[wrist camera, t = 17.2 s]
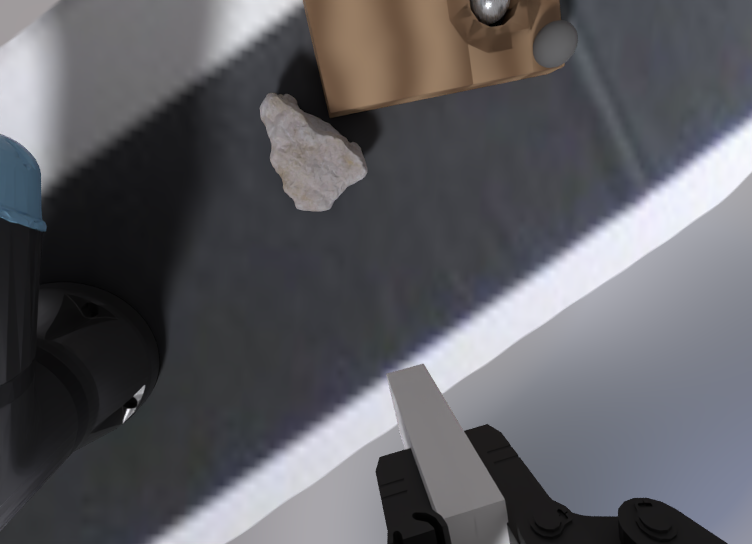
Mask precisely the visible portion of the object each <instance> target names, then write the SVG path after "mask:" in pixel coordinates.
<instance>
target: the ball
mask: <svg viewBox="0 0 752 544" xmlns="http://www.w3.org/2000/svg"><path fill="white" fill-rule="evenodd" d="M469 1H470V9H471V11H472V12H473V14H474V15H475V17H476V18H477V20H478V21H479V22H481V23H483V24H485V25H490V24H493V23H495V22H497V21H498V20H500V19H501V18H502V17H503V16H504V14H505V13H506V11H507V9H508V7H509V3H510V0H469Z"/></svg>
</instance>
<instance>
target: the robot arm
mask: <svg viewBox="0 0 752 544" xmlns="http://www.w3.org/2000/svg"><path fill="white" fill-rule="evenodd" d="M46 228H47V227H46V223H45V222H44V221H43V220H42V210H41V172H40V168H39V165H38V163H37V161H36V159H35V158H34V157H33V155H32V154H31V153H30V152H29V151H28V150H27V149H26V148H25V147H24V146H22V145H21V144H20V143H18V142H17V141H15V140H13V139H11V138H9V137H7V136H4V135H2V134H0V531H1V530H2V529H3V528H4V527H5V526H6V525H7V523H8V522H9V521H10V520H11V519H12V518H13V517H14V516H15V515H16V514H17V513H18V511H19V510H20V509H21V508H22V507H23V506H24V505H25V504H26V503H27V502H28V501H29V499H30V498H31V497H32V496H33V495H34V494H35V493H36V492H37V491H38V490H39V489H40V488H41V486H42V485H43V484H44V483H45V482H46V481H47V480H48V479H49V478H50V477H51V476H52V474H53V473H54V472H55V471H56V470H57V469H58V468H59V467H60V466H61V465H62V464H63V462H64V461H65V460H66V459H67V458H68V457H69V456H70V455H71V454H72V453H73V452H74V451H76V450H78V449H80V448H82V447H83V446H85V445H87V444H89V443H91V442H93V441H95V440H96V439H98V438H100V437H102V436H104V435H106V434H108V433H110V432H111V431H113V430H115V429H117V428H118V427H120V426H121V425H122V424H124V423H125V422H126V421H127V420H128V419H130V418H131V417H132V416H133V415H134V414H135V413H136V411H137V410H138V409H139V408H140V407H141V405H142V404H143V403H144V402H145V400H146V399H147V398H148V396H149V395H150V393H151V392H152V390H153V388H154V386H155V383H156V381H157V377H158V372H159V352H158V347H157V343H156V340H155V338H154V335H153V333H152V331H151V330H150V328H149V326H148V325H147V323H146V322H145V320H144V319H143V318H142V317H141V316H140V314H139V313H138V312H137V311H136V310H135V309H133V308H132V307H131V306H130V305H129V304H127V303H126V302H125V301H123V300H122V299H120V298H118V297H117V296H115V295H113V294H111V293H109V292H107V291H104V290H102V289H99V288H96V287H93V286H89V285H85V284H79V283H70V282H57V283H47V284H42V285H40V268H41V251H42V234H43V231H46ZM386 375H387V379H388V384H389V388H390V392H391V397H392V401H393V405H394V410H395V414H396V418H397V423H398V427H399V431H400V435H401V438H402V441H403V444H404V447H405V450H402V451H399V452H395V453H392V454H389V455H385V456H382V457H380V458H379V461H378V465H377V468H376V476H377V481H378V486H379V491H380V495H381V500H382V505H383V510H384V515H385V520H386V525H387V530H388V541H387V542H388V543H387V544H727V543H726V542H724V541H723V540H721V539H720V538H718V537H717V536H715V535H714V534H712V533H711V532H709V531H708V530H706V529H705V528H703V527H702V526H700V525H699V524H697V523H696V522H694V521H693V520H691V519H690V518H688V517H687V516H685V515H684V514H682V513H681V512H679V511H678V510H676V509H675V508H673V507H671V506H669V505H667V504H665V503H663V502H661V501H656V500H653V499H649V498H633V499H630V500H627V501H625V502H624V503H623V504H622V505H621V506H620V508H619V509H618V517H601V516H600V517H599V516H594V517H593V516H583V515H579V514H575V513H572V512H571V511H570V510H569V509H568V508H567V507H566V506H564V505H562V504H560V503H558V502H556V501H553V500H552V499H551V498H550V497H549V496H548V494H547V493H546V492H545V491H544V489H543V488H542V486H541V485H540V484H539V482H538V481H537V480H536V478H535V477H534V476H533V474H532V473H531V472H530V471H529V469H528V468H527V466H526V465H525V464H524V463H523V461H522V460H521V458H519V457H518V454H517V453H516V452H515V450H514V449H513V448H512V447H511V445H510V444H509V442H508V441H507V440H506V438H505V437H504V436H503V435H502V433H501V432H499V431H498V430H496V429H494V428H493V427H491V426H489V425H488V424H486V425H483V426H479V427H476V428H473V429H469V430H466V431H463V429H462V427H461V426H460V424H459V422H458V420H457V419H456V417H455V416H454V414H453V412H452V411H451V409H450V407H449V405H448V404H447V402H446V400H445V399H444V397H443V395H442V394H441V392H440V390H439V389H438V387H437V385H436V384H435V382H434V380H433V379H432V377H431V375H430V374H429V372H428V370H427V369H426V367H425V365H424V364H421V365H417V366H413V367H410V368H406V369H402V370H399V371H395V372H391V373H388V374H386Z"/></svg>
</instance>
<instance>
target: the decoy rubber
mask: <svg viewBox="0 0 752 544" xmlns="http://www.w3.org/2000/svg"><path fill="white" fill-rule="evenodd" d="M577 42H578V35H577V31H576V29H575V28H574V26H573V25H572V24H571V23H569V22H567V21H563V20H558V21H553V22H551V23H549V24H547V25H545V26H544V27H543V28H542V29H541V30H540V31H539V32H538V34H537V36H536V37H535V40H534V43H533V56H534V58H535V60H536V62H537V63H538V64H539V65H541V66H543V67H546V68H555V67H558V66H560V65H562V64H564V63H565V62H567V61H568V60H569V59H570V58H571V56H572V55H573V53H574V52H575V49H576V47H577Z"/></svg>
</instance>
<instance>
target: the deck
mask: <svg viewBox="0 0 752 544" xmlns="http://www.w3.org/2000/svg"><path fill="white" fill-rule="evenodd" d="M303 4H304V8H305V13H306V17H307V21H308V26H309V30H310V34H311V39H312V43H313V48H314V52H315V56H316V61H317V65H318V69H319V74H320V78H321V83H322V87H323V91H324V96H325V100H326V104H327V109H328V113H329V118H333V117H338V116H343V115H348V114H353V113H358V112H363V111H368V110H373V109H378V108H383V107H387V106H392V105H397V104H402V103H407V102H412V101H417V100H422V99H427V98H432V97H437V96H442V95H447V94H451V93H456V92H461V91H466V90H471V89H476V88H481V87H486V86H491V85H496V84H501V83H506V82H511V81H516V80H520V79H525V78H530V77H535V76H540V75H545V74H549V73H551V72H553V71H555V70H557V69H559V68H561V67H563V66H565V64H562V65H560V66H558V67H555V68H546V67H543V66H541V65H539V64H538V63H537V62H536V60H535V58H534V56H533V43H534V40H535V37H536V36H537V34H538V32H539V31H540V30H541V29H542V28H543V27H544V26H545V25H547V24H549V23H551V22H553V21H558V20H561V14H560V1H559V0H510V3H509V7H508V9H507V11H506V13H505V16H504V19H503V22H502V25H500V26H495V27H490V26H487V25H485V24H483V23H481V22H479V21H478V20H477V18H476V17H475V15H474V14H473V12H472V11H471V9H470V1H469V0H303Z"/></svg>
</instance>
